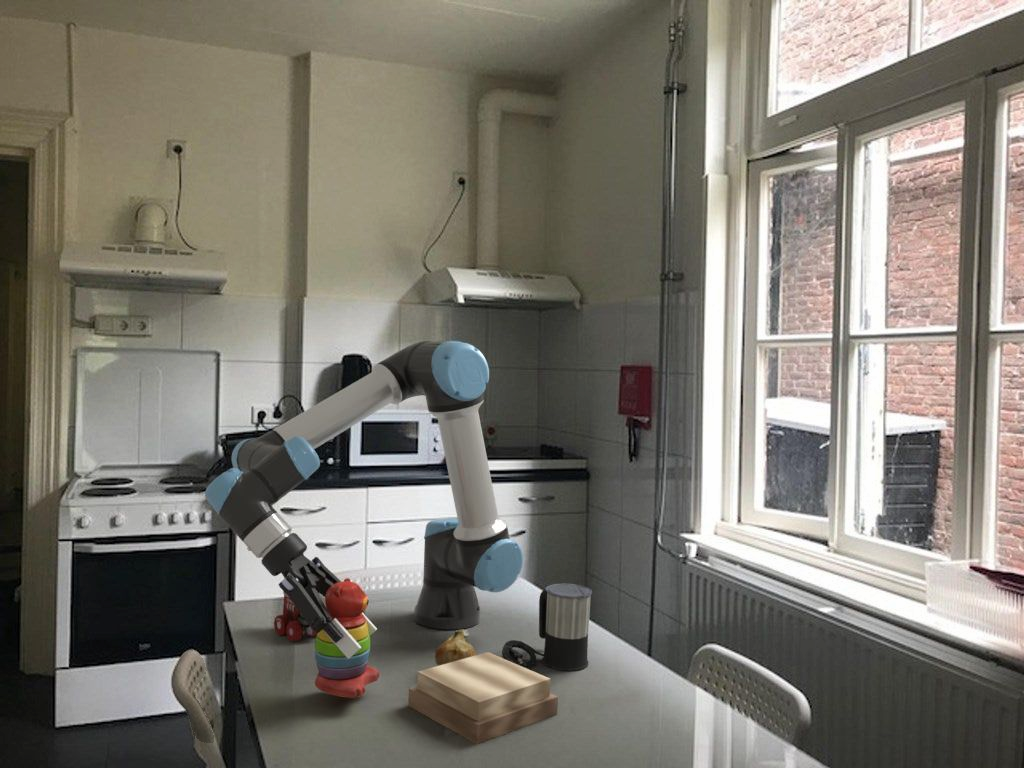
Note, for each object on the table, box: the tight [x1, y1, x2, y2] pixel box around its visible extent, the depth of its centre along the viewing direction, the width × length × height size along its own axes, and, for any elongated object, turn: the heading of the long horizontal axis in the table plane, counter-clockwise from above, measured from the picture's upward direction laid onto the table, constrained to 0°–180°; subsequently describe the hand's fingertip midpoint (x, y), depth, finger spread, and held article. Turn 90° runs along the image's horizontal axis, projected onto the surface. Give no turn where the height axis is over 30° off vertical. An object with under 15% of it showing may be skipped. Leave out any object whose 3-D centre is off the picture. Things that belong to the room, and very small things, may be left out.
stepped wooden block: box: [407, 651, 559, 745], centre depth 141 cm, size 18×18×6 cm
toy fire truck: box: [273, 590, 317, 643], centre depth 175 cm, size 7×12×10 cm, turn 45°
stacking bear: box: [314, 577, 380, 699], centre depth 143 cm, size 11×10×18 cm
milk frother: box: [501, 583, 593, 671], centre depth 165 cm, size 14×16×15 cm
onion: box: [434, 629, 477, 666], centre depth 158 cm, size 8×8×8 cm
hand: (363, 643), depth 143 cm, fingers closed on stacking bear, 9 cm apart
